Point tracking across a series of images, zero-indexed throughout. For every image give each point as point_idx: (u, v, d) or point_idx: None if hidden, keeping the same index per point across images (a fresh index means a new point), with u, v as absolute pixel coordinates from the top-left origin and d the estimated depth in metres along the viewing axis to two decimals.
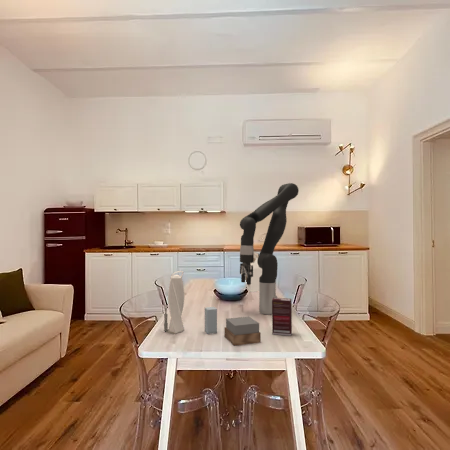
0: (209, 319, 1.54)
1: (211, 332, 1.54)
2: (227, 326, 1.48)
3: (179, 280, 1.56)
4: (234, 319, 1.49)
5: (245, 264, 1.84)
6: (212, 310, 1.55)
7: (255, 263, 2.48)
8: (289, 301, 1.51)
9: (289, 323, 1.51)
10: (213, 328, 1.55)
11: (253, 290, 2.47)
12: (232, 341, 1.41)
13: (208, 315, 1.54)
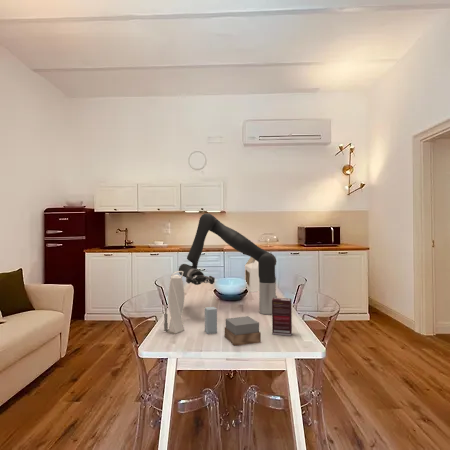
0: (209, 320, 1.54)
1: (211, 332, 1.54)
2: (227, 326, 1.48)
3: (179, 280, 1.56)
4: (234, 319, 1.49)
5: None
6: (212, 310, 1.55)
7: (255, 263, 2.48)
8: (289, 301, 1.51)
9: (289, 323, 1.51)
10: (213, 328, 1.55)
11: (253, 290, 2.47)
12: (232, 341, 1.41)
13: (208, 315, 1.54)
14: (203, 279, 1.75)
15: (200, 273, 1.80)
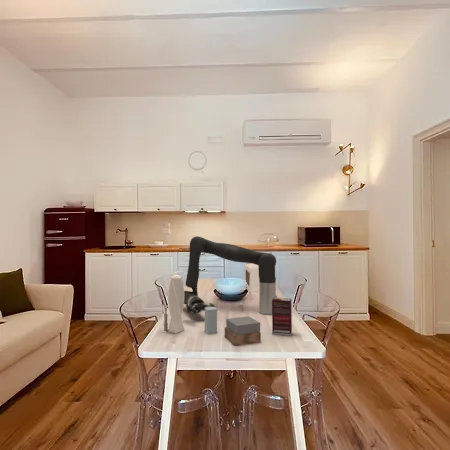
0: (209, 319, 1.54)
1: (211, 332, 1.54)
2: (227, 326, 1.48)
3: (179, 280, 1.56)
4: (234, 319, 1.49)
5: None
6: (212, 310, 1.55)
7: None
8: (289, 301, 1.51)
9: (289, 323, 1.51)
10: (213, 328, 1.55)
11: (253, 290, 2.47)
12: (232, 341, 1.41)
13: (208, 315, 1.54)
14: (203, 307, 1.74)
15: (200, 301, 1.79)
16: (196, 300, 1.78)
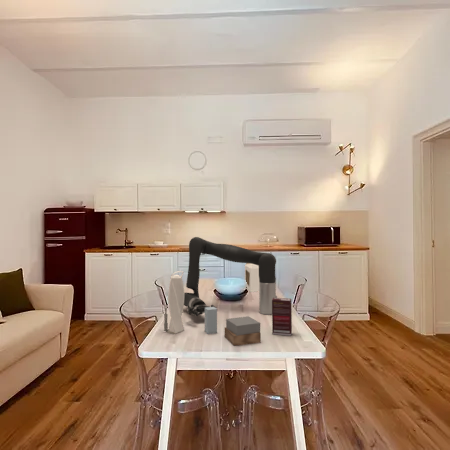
0: (209, 319, 1.54)
1: (211, 332, 1.54)
2: (227, 326, 1.48)
3: (179, 280, 1.56)
4: (234, 319, 1.48)
5: None
6: (212, 310, 1.55)
7: None
8: (289, 301, 1.51)
9: (289, 323, 1.51)
10: (213, 328, 1.55)
11: (253, 290, 2.47)
12: (232, 341, 1.41)
13: (208, 315, 1.54)
14: None
15: (202, 302, 1.76)
16: (197, 302, 1.75)
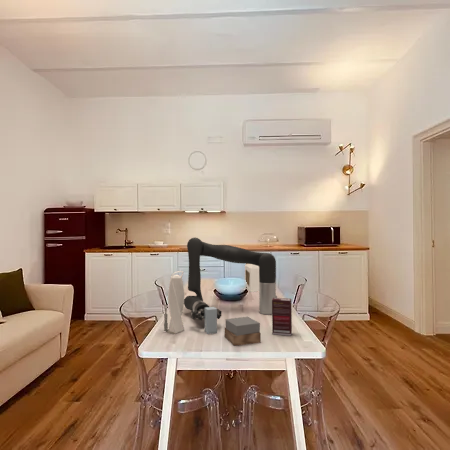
0: (209, 319, 1.54)
1: (211, 332, 1.54)
2: (227, 327, 1.48)
3: (179, 280, 1.56)
4: (234, 319, 1.48)
5: None
6: (212, 310, 1.55)
7: None
8: (289, 301, 1.51)
9: (289, 323, 1.51)
10: (213, 328, 1.55)
11: (253, 290, 2.47)
12: (232, 341, 1.41)
13: (208, 315, 1.54)
14: None
15: (206, 306, 1.68)
16: (202, 305, 1.68)
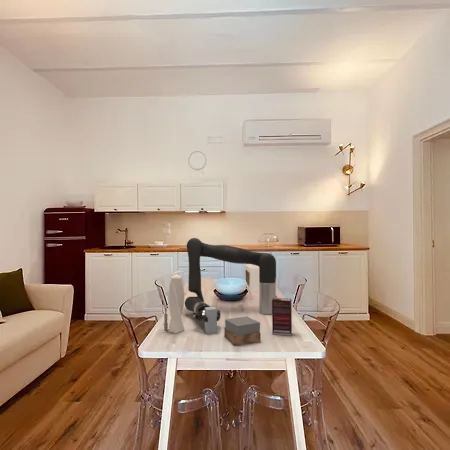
0: (209, 319, 1.54)
1: (211, 332, 1.54)
2: (227, 327, 1.47)
3: (179, 280, 1.56)
4: (233, 319, 1.48)
5: None
6: (212, 310, 1.55)
7: None
8: (289, 301, 1.51)
9: (289, 323, 1.51)
10: (213, 328, 1.55)
11: (253, 290, 2.47)
12: (232, 341, 1.41)
13: (208, 315, 1.54)
14: None
15: None
16: (203, 306, 1.66)
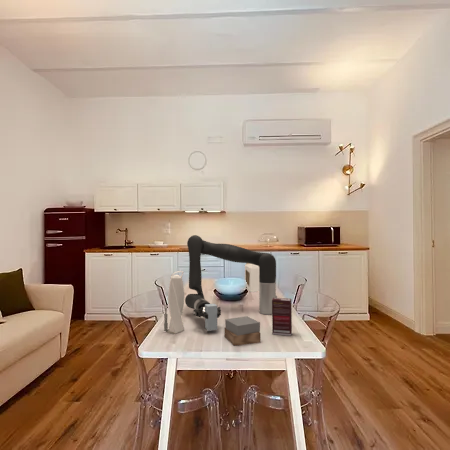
0: (209, 316, 1.54)
1: (212, 329, 1.54)
2: (227, 327, 1.48)
3: (179, 280, 1.56)
4: (234, 319, 1.48)
5: None
6: (212, 307, 1.55)
7: None
8: (289, 301, 1.51)
9: (289, 323, 1.51)
10: (214, 324, 1.55)
11: (253, 290, 2.47)
12: (232, 341, 1.41)
13: (208, 312, 1.54)
14: None
15: None
16: (203, 303, 1.66)
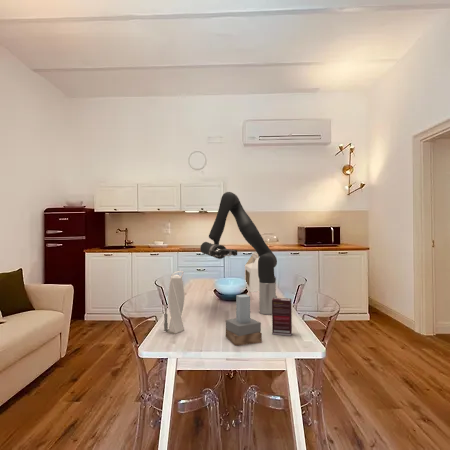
0: (242, 308, 1.44)
1: (244, 321, 1.44)
2: (227, 327, 1.47)
3: (179, 280, 1.56)
4: (234, 320, 1.48)
5: None
6: (245, 298, 1.44)
7: (255, 263, 2.48)
8: (289, 301, 1.51)
9: (289, 323, 1.51)
10: (246, 316, 1.45)
11: (253, 290, 2.47)
12: (233, 341, 1.41)
13: (241, 303, 1.44)
14: (226, 252, 1.76)
15: (222, 247, 1.81)
16: (219, 246, 1.81)
